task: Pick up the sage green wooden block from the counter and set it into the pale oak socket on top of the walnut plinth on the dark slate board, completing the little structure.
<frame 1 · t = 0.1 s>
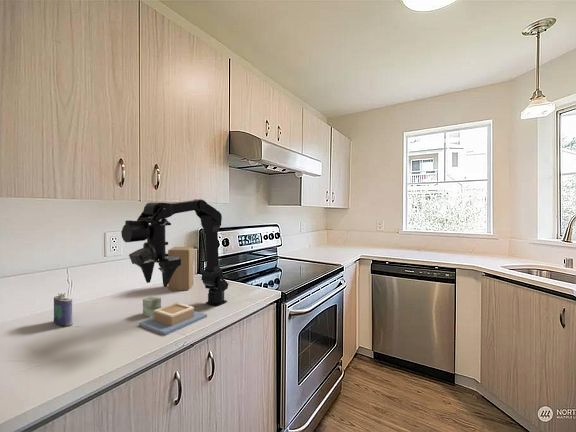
hand: (156, 284, 98), 15 cm above the worktop, tool pointing down, fingers open, 9 cm apart
build base: (174, 321, 103), on the worktop
sage block: (152, 313, 110), on the worktop
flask: (62, 324, 100), on the worktop
wooden block: (181, 288, 145), on the worktop
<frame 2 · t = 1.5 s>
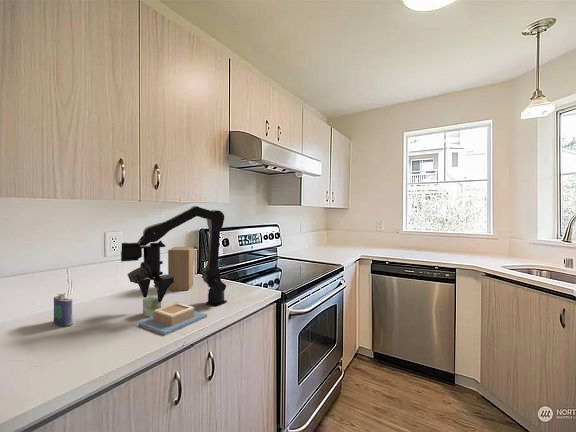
hand: (152, 299, 110), 5 cm above the worktop, tool pointing down, fingers open, 9 cm apart
nothing on the worktop moved.
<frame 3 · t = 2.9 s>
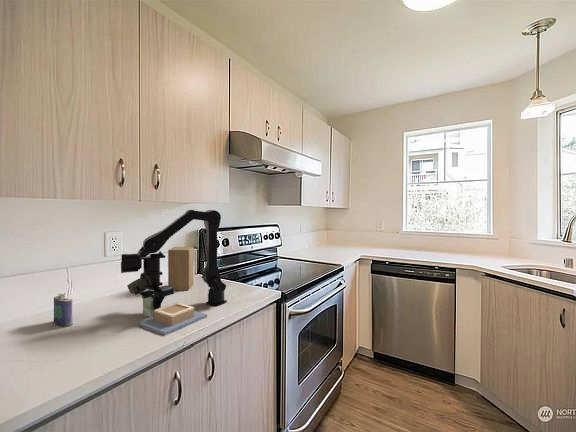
hand: (152, 310, 110), 1 cm above the worktop, tool pointing down, fingers closed on sage block, 4 cm apart
sage block: (152, 313, 110), on the worktop, touching gripper
everything else where it was.
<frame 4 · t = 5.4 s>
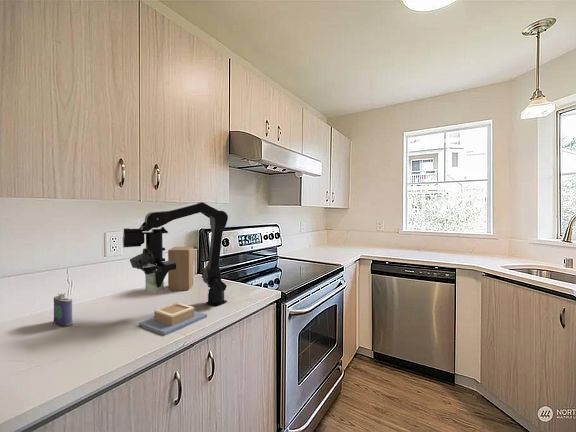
hand: (154, 286, 109), 11 cm above the worktop, tool pointing down, fingers closed on sage block, 4 cm apart
sage block: (154, 289, 109), point 10 cm above the worktop, touching gripper
everything else where it was.
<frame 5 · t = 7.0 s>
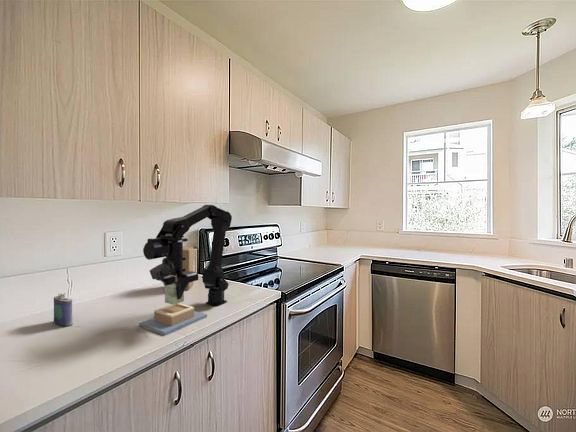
hand: (174, 298, 103), 8 cm above the worktop, tool pointing down, fingers closed on sage block, 4 cm apart
sage block: (174, 301, 103), point 7 cm above the worktop, touching gripper
everything else where it was.
when the fingers open (7 cm above the worktop, at t = 8.1 s): sage block drops 1 cm, resting on build base.
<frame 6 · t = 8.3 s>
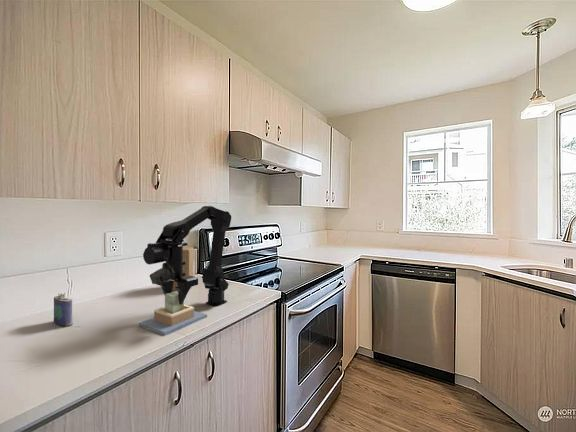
hand: (174, 302, 103), 7 cm above the worktop, tool pointing down, fingers open, 7 cm apart
sage block: (174, 310, 103), point 4 cm above the worktop, touching build base
everything else where it was.
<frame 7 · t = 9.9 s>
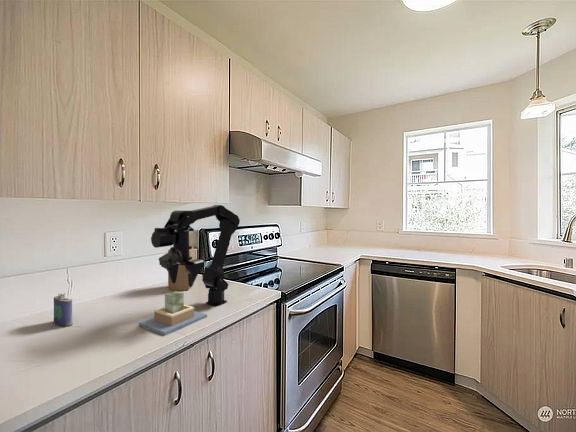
hand: (182, 285, 108), 12 cm above the worktop, tool pointing down, fingers open, 9 cm apart
nothing on the worktop moved.
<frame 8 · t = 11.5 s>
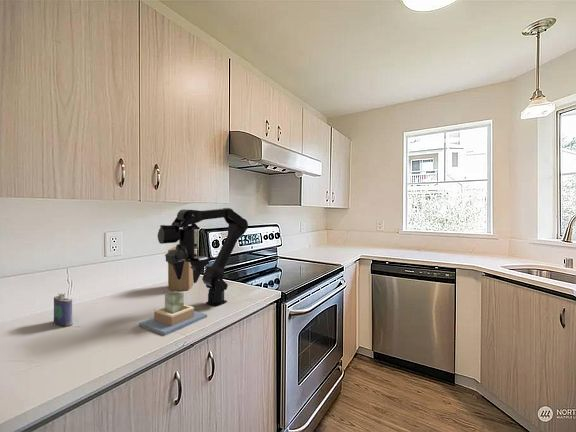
hand: (187, 281, 113), 12 cm above the worktop, tool pointing down, fingers open, 9 cm apart
nothing on the worktop moved.
at the end: sage block 0.0 cm off-centre on the build base, point 4.0 cm above the build base's base; sage block tilted 0°; the gripper is holding nothing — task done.
